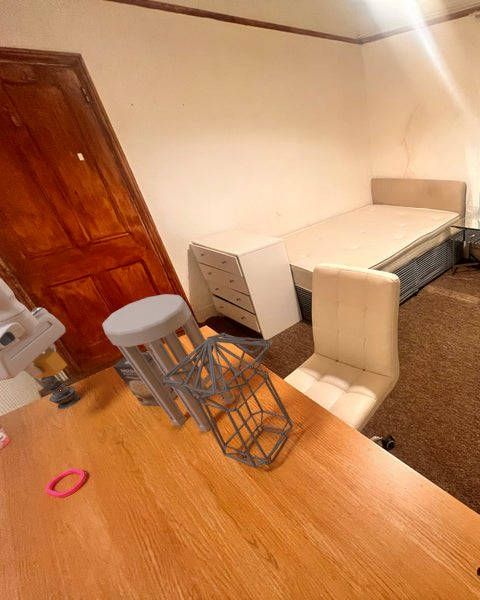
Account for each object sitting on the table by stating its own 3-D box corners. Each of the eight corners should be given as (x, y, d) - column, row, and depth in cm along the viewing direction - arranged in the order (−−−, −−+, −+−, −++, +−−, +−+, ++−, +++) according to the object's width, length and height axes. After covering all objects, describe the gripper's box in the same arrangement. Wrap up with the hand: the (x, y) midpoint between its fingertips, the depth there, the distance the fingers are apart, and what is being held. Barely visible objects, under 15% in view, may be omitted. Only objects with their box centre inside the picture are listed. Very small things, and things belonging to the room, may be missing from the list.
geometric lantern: (269, 486, 69) (207, 374, 51) (216, 467, 74) (142, 358, 56) (308, 427, 82) (269, 320, 63) (260, 414, 87) (211, 311, 68)
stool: (246, 394, 93) (198, 295, 75) (207, 440, 81) (138, 335, 62) (204, 387, 97) (149, 291, 78) (161, 430, 84) (83, 328, 66)
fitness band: (94, 474, 75) (90, 471, 74) (68, 500, 70) (63, 497, 69) (69, 469, 76) (65, 465, 75) (41, 493, 71) (37, 490, 71)
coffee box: (140, 406, 92) (110, 366, 84) (156, 389, 98) (129, 350, 89) (167, 407, 91) (140, 367, 83) (182, 390, 96) (158, 351, 88)
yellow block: (57, 374, 82) (45, 360, 80) (35, 379, 81) (22, 365, 79) (67, 364, 86) (55, 351, 83) (46, 368, 85) (33, 355, 82)
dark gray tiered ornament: (64, 397, 97) (37, 369, 91) (85, 392, 99) (61, 364, 92) (52, 411, 93) (23, 383, 86) (75, 406, 94) (49, 378, 88)
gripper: (26, 306, 83) (60, 345, 91) (-46, 355, 66) (2, 398, 74) (53, 301, 84) (84, 341, 92) (-11, 348, 67) (33, 392, 75)
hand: (47, 367), depth 83 cm, fingers closed on yellow block, 4 cm apart
